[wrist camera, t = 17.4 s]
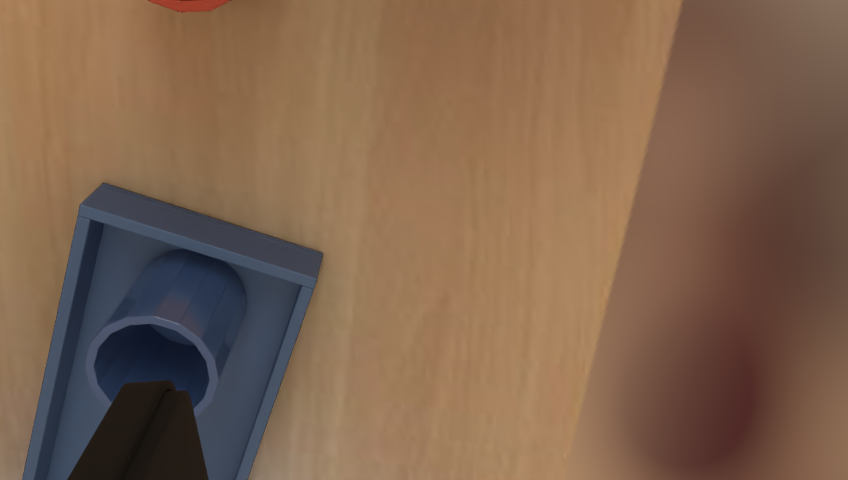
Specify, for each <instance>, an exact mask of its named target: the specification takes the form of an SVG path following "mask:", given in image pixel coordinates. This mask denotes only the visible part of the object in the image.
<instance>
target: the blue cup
mask: <svg viewBox="0 0 848 480" xmlns="http://www.w3.org/2000/svg"><path fill="white" fill-rule="evenodd" d="M246 310H247V295H246V291H245V288H244V285H243V283H242V281H241V279H240V277H239V276H238V275H237V273H236V272H235V271H234V270H233V269H232V268H231V267H230V266H229V265H228V264H227V263H226V262H224V261H223V260H220V259H216V258H213V257H210V256H207V255H204V254H200V253H197V252H194V251H191V250H188V249H179V250H173V251H169V252H166V253H164V254H161V255H160V256H158V257H156V258H155V259H153V260H152V261H151V262H150V263H149V264H148V265H147V266H146V267H145V268H144V270H143V271H142V272H141V273H140V275H139V276H138V277H137V278H136V280H135V281H134V282H133V284H132V285H131V287H130V288H129V289H128V291H127V292H126V294H125V295H124V296H123V298H122V299H121V301H120V302H119V303H118V305H117V306H116V308H115V309H114V310H113V312H112V313H111V314H110V316H109V317H108V319H107V320H106V321H105V323H104V324H103V326H102V327H101V328H100V330H99V331H98V333H97V334H96V335H95V337H94V338H93V340H92V341H91V342H90V344H89V348H88V352H87V356H86V361H85V369H86V373H87V377H88V382H89V386H90V388H91V389H92V391H93V392H94V393H95V395H96V396H97V397H98V399H99V400H100V401H101V403H102V404H103V405H104V406H105V407H106V408H107V409H109V407H110V406H111V404H112V402H113V401H114V399H115V397H116V395H117V394H118V392H119V390H120V389H121V387H122V386H123V385H124V384H126V383H133V382H148V381H162V380H170V381H172V382H173V384H174V385H175V387H176V390H177V391H180V390H186V391H188V393H189V395H190V398H191V401H192V405H193V410H194V415H195V418H196V417H198V416H199V415H200V414H201V413H202V412H203V411H204V410H205V409H206V407H207V406H208V405H209V404H210V403H211V402H212V401H213V399H214V396H215V393H216V391H217V388H218V386H219V383H220V381H221V378H222V375H223V373H224V370H225V368H226V365H227V363H228V360H229V357H230V355H231V352H232V350H233V347H234V345H235V342H236V339H237V337H238V334H239V332H240V329H241V326H242V323H243V320H244V317H245V314H246Z"/></svg>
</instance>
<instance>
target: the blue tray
mask: <svg viewBox="0 0 848 480" xmlns="http://www.w3.org/2000/svg"><path fill="white" fill-rule="evenodd" d="M179 249H188V250H191V251H194V252H197V253H200V254H204V255H207V256H210V257H213V258H216V259H220V260H223V261H224V262H226V263H227V264H228V265H229V266H230V267H231V268H232V269H233V270H234V271H235V272H236V273H237V275H238V276H239V277H240V279H241V281H242V283H243V285H244V288H245V291H246V295H247V310H246V314H245V317H244V320H243V323H242V326H241V329H240V332H239V334H238V337H237V339H236V342H235V345H234V347H233V350H232V352H231V355H230V357H229V360H228V363H227V365H226V368H225V370H224V373H223V375H222V378H221V381H220V383H219V386H218V388H217V391H216V393H215V396H214V399H213V401H212V402H211V403H210V404H209V405H208V406H207V407H206V409H205V410H204V411H203V412H202V413H201V414H200V415H199V416H198V417H196V418H195V419H196V424H197V428H198V433H199V437H200V442H201V446H202V451H203V455H204V460H205V465H206V469H207V474H208V478H209V480H248V477H249V474H250V471H251V468H252V465H253V462H254V460H255V457H256V454H257V451H258V448H259V445H260V442H261V439H262V437H263V434H264V431H265V428H266V425H267V422H268V419H269V416H270V414H271V411H272V408H273V405H274V402H275V399H276V396H277V394H278V391H279V388H280V385H281V382H282V379H283V376H284V373H285V371H286V368H287V365H288V362H289V359H290V356H291V353H292V351H293V348H294V345H295V342H296V339H297V336H298V333H299V330H300V328H301V325H302V322H303V319H304V316H305V313H306V310H307V307H308V305H309V302H310V299H311V296H312V293H313V290H314V287H315V285H316V282H317V279H318V274H319V270H320V266H321V262H322V258H323V253H321V252H318V251H315V250H312V249H309V248H305V247H302V246H299V245H296V244H293V243H290V242H287V241H284V240H280V239H277V238H274V237H271V236H268V235H265V234H262V233H259V232H255V231H252V230H249V229H246V228H243V227H240V226H237V225H234V224H231V223H227V222H224V221H221V220H218V219H215V218H212V217H209V216H206V215H202V214H199V213H196V212H193V211H190V210H187V209H184V208H181V207H177V206H174V205H171V204H168V203H165V202H162V201H159V200H156V199H152V198H149V197H146V196H143V195H140V194H137V193H134V192H131V191H127V190H124V189H121V188H118V187H115V186H112V185H109V184H106V183H103V184H102V185H100V187H98V188H97V189H96V190H95V191H94V192H93V193H92V194H91V195H90V196H89V197H88V198H86V199H85V200H84V201H83V202H82V203H81V204H80V207H79V212H78V217H77V221H76V226H75V231H74V236H73V241H72V245H71V250H70V255H69V260H68V264H67V269H66V274H65V279H64V283H63V288H62V293H61V298H60V302H59V307H58V312H57V317H56V321H55V326H54V331H53V336H52V340H51V345H50V350H49V355H48V359H47V364H46V369H45V374H44V378H43V383H42V388H41V393H40V397H39V402H38V407H37V412H36V416H35V421H34V426H33V431H32V435H31V440H30V445H29V450H28V454H27V459H26V464H25V469H24V473H23V478H22V480H67V479H68V477H69V475H70V474H71V472H72V470H73V469H74V467H75V465H76V463H77V462H78V460H79V458H80V457H81V455H82V453H83V452H84V450H85V448H86V446H87V445H88V443H89V441H90V440H91V438H92V436H93V435H94V433H95V431H96V429H97V428H98V426H99V424H100V423H101V421H102V419H103V418H104V416H105V414H106V412H107V411H108V409H107V408H106V407H105V406H104V405H103V404H102V403H101V401H100V400H99V399H98V397H97V396H96V395H95V393H94V392H93V391H92V389H91V388H90V386H89V382H88V377H87V373H86V369H85V361H86V356H87V352H88V348H89V344H90V342H91V341H92V340H93V338H94V337H95V335H96V334H97V333H98V331H99V330H100V328H101V327H102V326H103V324H104V323H105V321H106V320H107V319H108V317H109V316H110V314H111V313H112V312H113V310H114V309H115V308H116V306H117V305H118V303H119V302H120V301H121V299H122V298H123V296H124V295H125V294H126V292H127V291H128V289H129V288H130V287H131V285H132V284H133V282H134V281H135V280H136V278H137V277H138V276H139V275H140V273H141V272H142V271H143V270H144V268H145V267H146V266H147V265H148V264H149V263H150V262H151V261H152V260H153V259H155V258H156V257H158V256H160V255H161V254H164V253H166V252H169V251H173V250H179Z"/></svg>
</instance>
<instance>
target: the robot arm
mask: <svg viewBox="0 0 848 480" xmlns="http://www.w3.org/2000/svg"><path fill="white" fill-rule="evenodd" d="M67 480H209V478H208V474H207V469H206V465H205V460H204V455H203V451H202V446H201V442H200V437H199V433H198V428H197V424H196V419H195V415H194V410H193V405H192V401H191V398H190V395H189V393H188V391H186V390H180V391H177V390H176V387H175V385H174V384H173V382H172V381H170V380H162V381H148V382H133V383H126V384H124V385H123V386H122V387H121V389H120V390H119V392H118V394H117V395H116V397H115V399H114V401H113V402H112V404H111V406H110V407H109V409H108V411H107V412H106V414H105V416H104V418H103V419H102V421H101V423H100V424H99V426H98V428H97V429H96V431H95V433H94V435H93V436H92V438H91V440H90V441H89V443H88V445H87V446H86V448H85V450H84V452H83V453H82V455H81V457H80V458H79V460H78V462H77V463H76V465H75V467H74V469H73V470H72V472H71V474H70V475H69V477H68V479H67Z"/></svg>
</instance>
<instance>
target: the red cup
mask: <svg viewBox="0 0 848 480" xmlns="http://www.w3.org/2000/svg"><path fill="white" fill-rule="evenodd" d="M148 1H150V2H152V3H155V4H158V5H161V6H163V7H166V8H169V9H172V10H175V11H177V12H199V11H210V10H213V9H215V8H217V7H219V6H221V5H223V4H225V3H227V2H229V1H231V0H148Z"/></svg>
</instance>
